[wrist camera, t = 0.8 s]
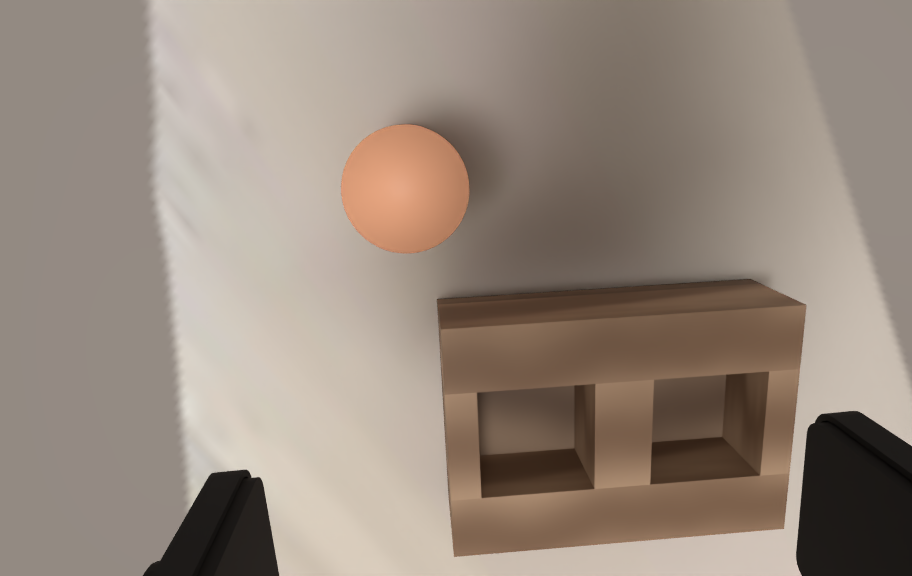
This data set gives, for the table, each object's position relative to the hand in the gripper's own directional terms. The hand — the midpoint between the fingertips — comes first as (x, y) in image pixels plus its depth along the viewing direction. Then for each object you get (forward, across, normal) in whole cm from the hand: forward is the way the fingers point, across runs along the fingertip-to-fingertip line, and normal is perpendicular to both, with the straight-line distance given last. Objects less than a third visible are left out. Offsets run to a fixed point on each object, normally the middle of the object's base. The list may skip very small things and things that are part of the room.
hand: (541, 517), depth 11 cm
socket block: (+22, -7, +9) cm, 25 cm away
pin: (+23, +2, -4) cm, 23 cm away
